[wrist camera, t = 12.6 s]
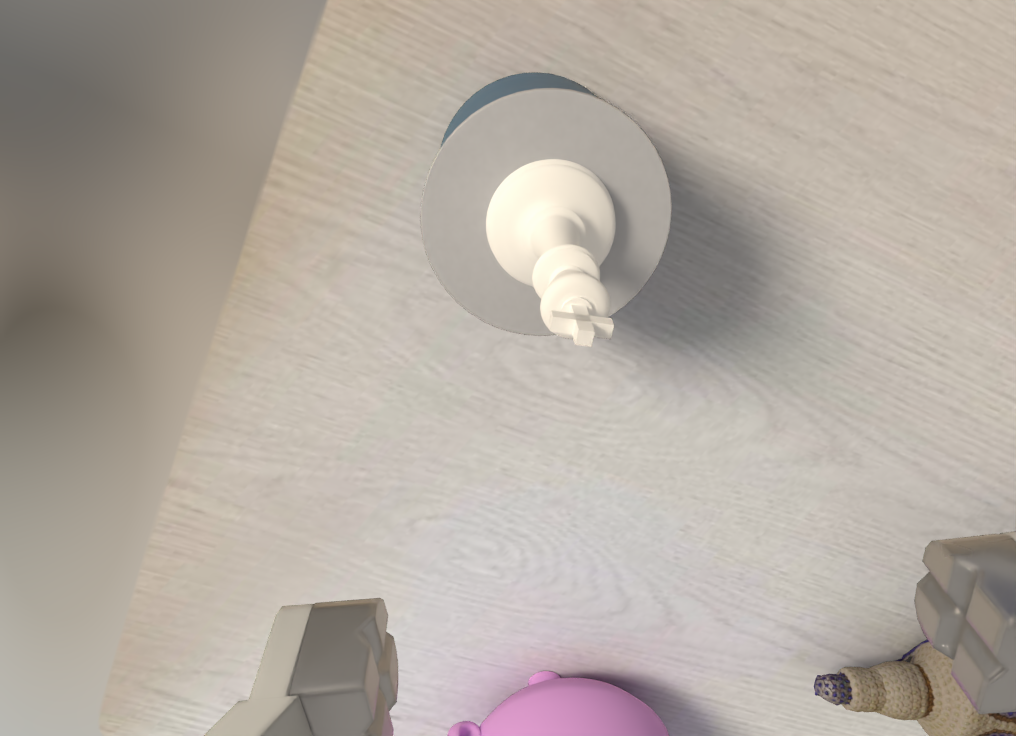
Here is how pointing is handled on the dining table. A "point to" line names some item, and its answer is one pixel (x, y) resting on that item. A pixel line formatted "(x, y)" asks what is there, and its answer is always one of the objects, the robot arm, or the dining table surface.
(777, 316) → the dining table surface
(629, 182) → the yogurt tub
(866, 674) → the decorative bottle
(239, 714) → the robot arm
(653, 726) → the teapot
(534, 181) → the chess piece
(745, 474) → the dining table surface
